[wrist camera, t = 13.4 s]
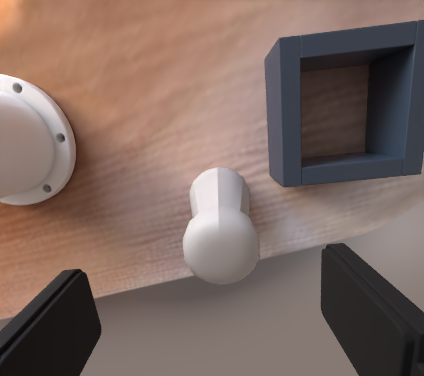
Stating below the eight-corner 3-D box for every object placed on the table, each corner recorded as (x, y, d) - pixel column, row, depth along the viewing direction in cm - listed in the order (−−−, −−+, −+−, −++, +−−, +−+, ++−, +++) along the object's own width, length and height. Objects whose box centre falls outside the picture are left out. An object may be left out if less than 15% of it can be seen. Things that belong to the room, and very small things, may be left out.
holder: (269, 175, 24) (283, 187, 19) (264, 58, 21) (278, 37, 16) (378, 164, 23) (421, 174, 18) (387, 43, 21) (440, 17, 16)
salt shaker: (257, 184, 24) (303, 244, 11) (226, 226, 25) (236, 322, 13) (211, 152, 23) (205, 180, 11) (181, 197, 24) (144, 269, 12)
